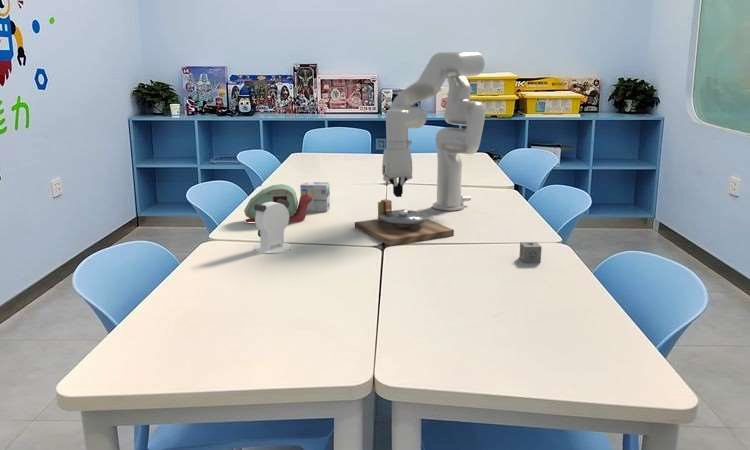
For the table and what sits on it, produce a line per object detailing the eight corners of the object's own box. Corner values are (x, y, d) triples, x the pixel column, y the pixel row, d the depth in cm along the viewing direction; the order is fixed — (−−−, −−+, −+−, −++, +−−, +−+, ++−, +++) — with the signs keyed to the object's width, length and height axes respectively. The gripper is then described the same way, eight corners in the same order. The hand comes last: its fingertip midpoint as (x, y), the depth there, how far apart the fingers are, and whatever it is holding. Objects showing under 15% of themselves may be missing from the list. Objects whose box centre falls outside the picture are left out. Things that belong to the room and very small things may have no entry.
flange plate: (436, 219, 222) (436, 205, 221) (401, 227, 212) (401, 212, 211) (400, 209, 236) (400, 196, 235) (366, 216, 226) (365, 203, 225)
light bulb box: (330, 208, 258) (330, 181, 255) (327, 212, 252) (327, 185, 249) (304, 207, 259) (303, 181, 256) (300, 211, 253) (299, 184, 250)
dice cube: (535, 257, 196) (536, 241, 195) (540, 262, 191) (541, 246, 190) (519, 258, 196) (520, 242, 195) (523, 263, 191) (524, 247, 190)
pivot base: (415, 219, 241) (415, 195, 238) (453, 235, 219) (454, 209, 217) (354, 227, 229) (354, 203, 227) (389, 245, 208) (389, 218, 206)
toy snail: (243, 225, 233) (241, 187, 230) (245, 219, 241) (243, 183, 237) (313, 222, 236) (312, 185, 233) (312, 217, 244) (311, 181, 240)
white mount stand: (275, 240, 214) (273, 196, 210) (299, 247, 207) (298, 201, 203) (247, 249, 205) (244, 203, 201) (271, 256, 198) (269, 208, 194)
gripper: (413, 141, 231) (413, 191, 236) (373, 145, 227) (374, 195, 232) (421, 145, 224) (421, 196, 229) (380, 148, 220) (381, 200, 225)
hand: (398, 196), depth 231 cm, fingers closed
